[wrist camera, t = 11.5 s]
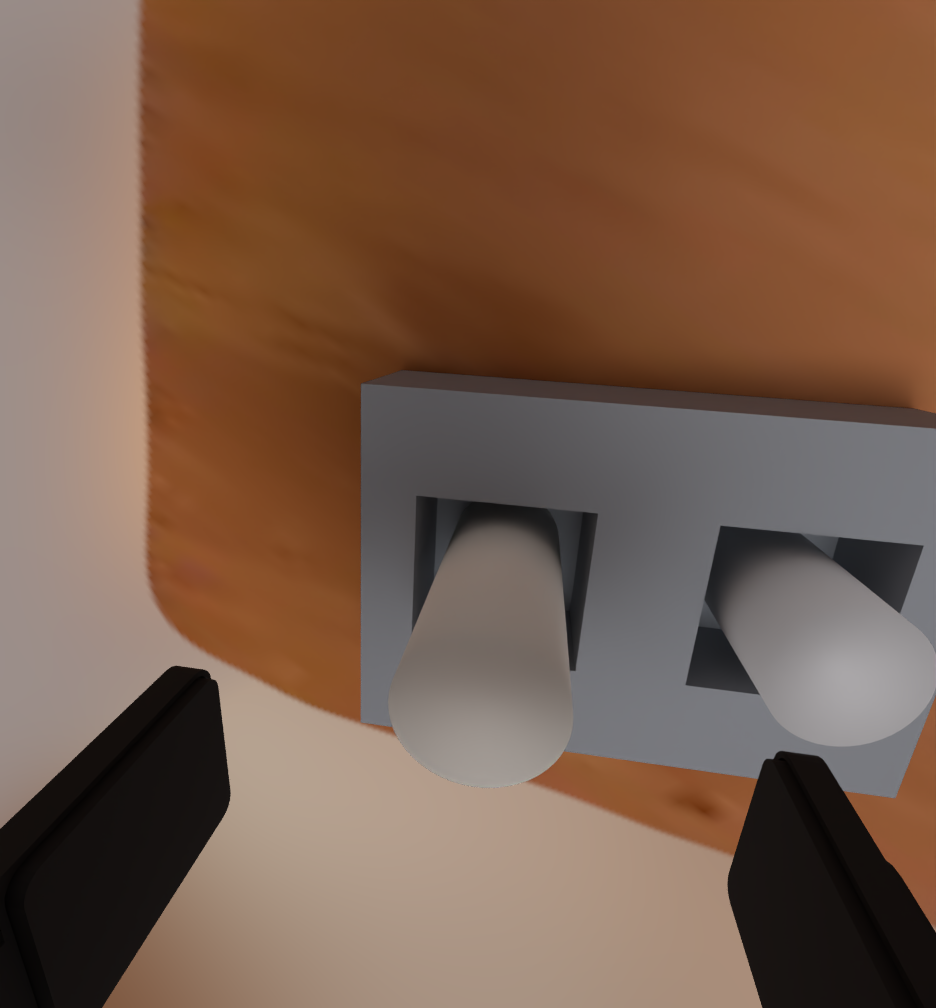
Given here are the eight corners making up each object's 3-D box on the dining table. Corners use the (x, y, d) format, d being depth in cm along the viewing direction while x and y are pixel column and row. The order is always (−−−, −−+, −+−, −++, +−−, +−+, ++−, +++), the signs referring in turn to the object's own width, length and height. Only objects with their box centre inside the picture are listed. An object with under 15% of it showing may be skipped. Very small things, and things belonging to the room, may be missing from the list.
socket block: (402, 370, 21) (322, 396, 13) (914, 408, 19) (1159, 464, 11) (395, 645, 25) (330, 788, 17) (822, 700, 23) (960, 886, 15)
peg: (458, 485, 21) (389, 620, 11) (565, 496, 20) (585, 645, 11) (452, 581, 22) (386, 773, 13) (552, 592, 22) (561, 800, 12)
